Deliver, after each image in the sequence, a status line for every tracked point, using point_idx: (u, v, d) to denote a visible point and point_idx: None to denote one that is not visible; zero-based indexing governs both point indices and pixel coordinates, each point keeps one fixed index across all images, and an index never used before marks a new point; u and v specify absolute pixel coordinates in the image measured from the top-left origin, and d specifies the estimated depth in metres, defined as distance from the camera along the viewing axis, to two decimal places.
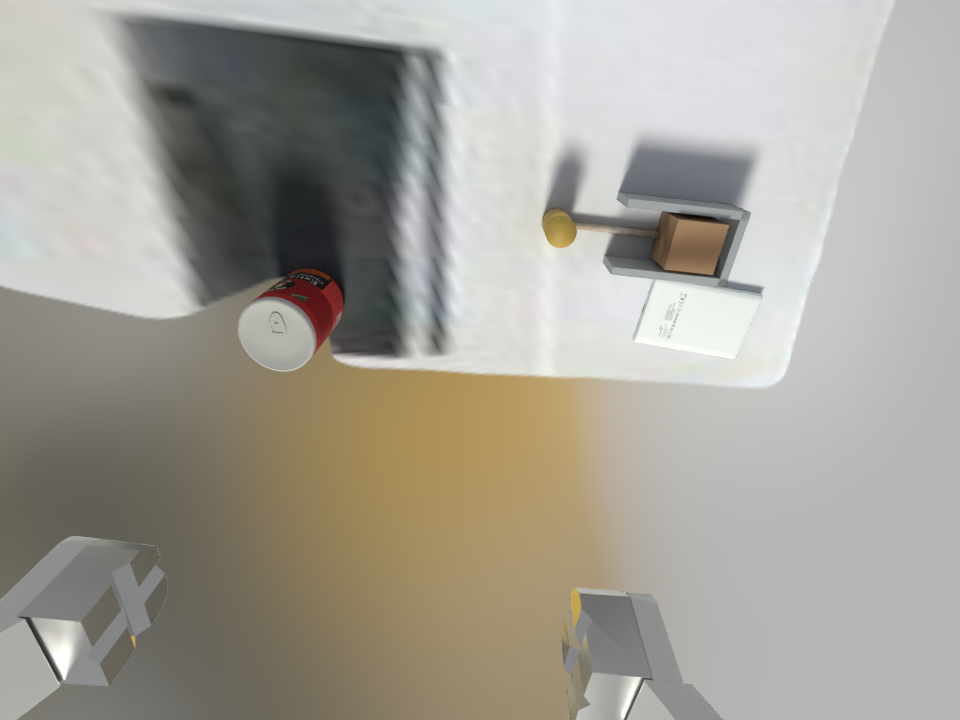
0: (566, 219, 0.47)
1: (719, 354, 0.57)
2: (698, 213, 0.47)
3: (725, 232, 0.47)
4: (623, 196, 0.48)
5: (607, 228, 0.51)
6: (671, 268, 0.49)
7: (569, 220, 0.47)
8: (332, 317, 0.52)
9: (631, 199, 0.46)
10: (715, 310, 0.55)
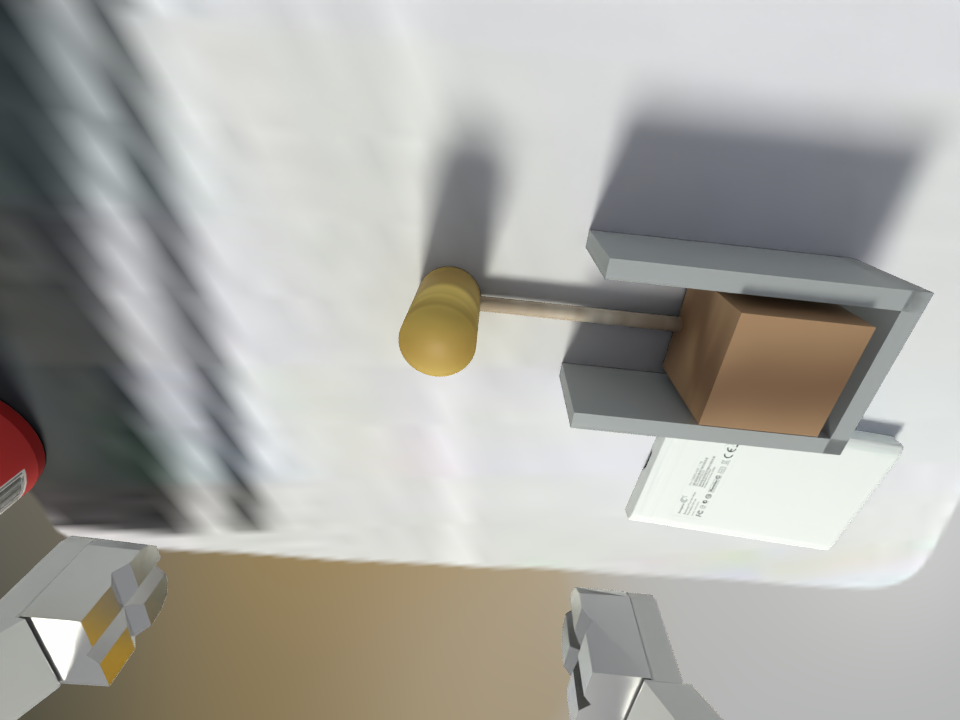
0: (446, 312, 0.18)
1: (799, 544, 0.29)
2: (792, 295, 0.18)
3: (863, 344, 0.18)
4: (598, 245, 0.19)
5: (564, 312, 0.22)
6: (716, 422, 0.20)
7: (454, 314, 0.18)
8: None
9: (616, 259, 0.17)
10: (799, 471, 0.26)
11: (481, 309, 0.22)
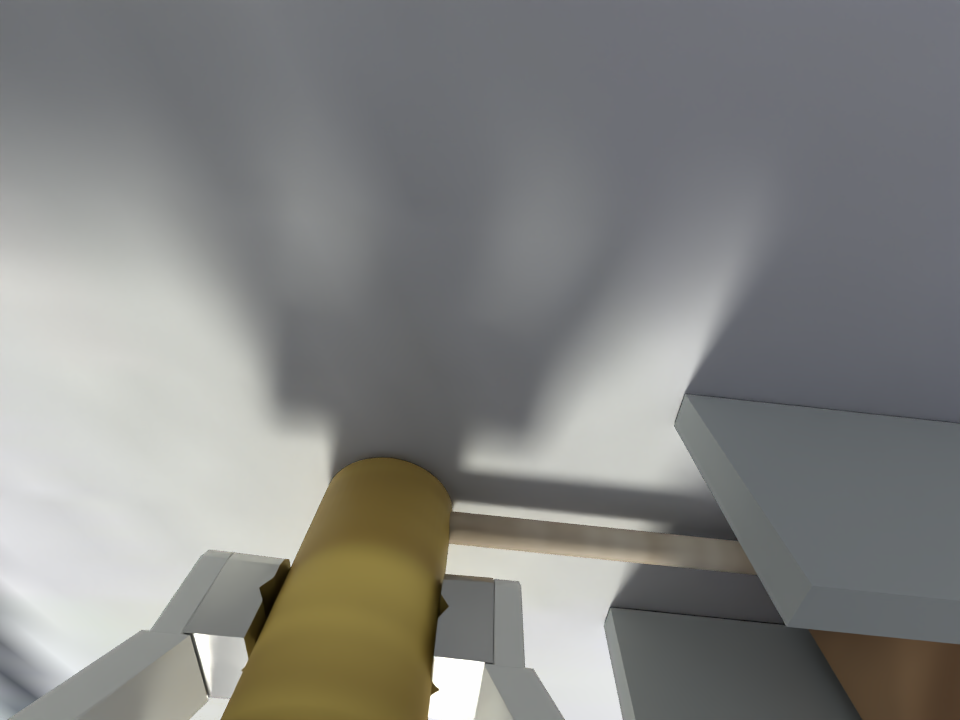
0: (331, 715, 0.06)
1: None
2: None
3: None
4: (731, 472, 0.08)
5: (624, 553, 0.11)
6: None
7: (356, 717, 0.06)
8: None
9: (827, 584, 0.06)
10: None
11: (452, 543, 0.11)
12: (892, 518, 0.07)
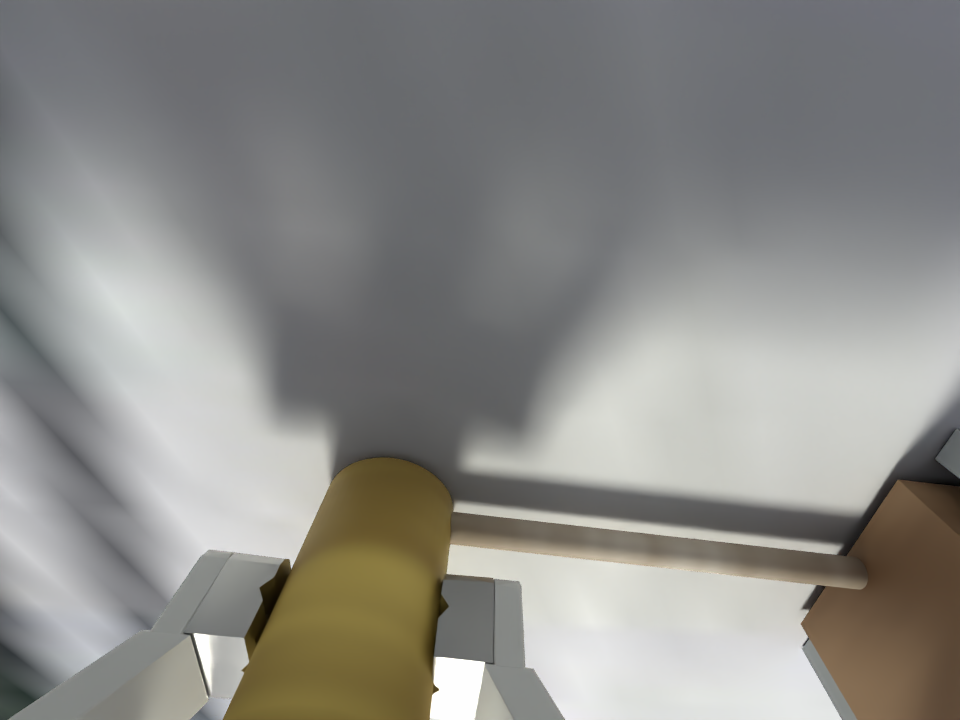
0: (335, 716, 0.06)
1: None
2: None
3: None
4: None
5: (625, 554, 0.11)
6: None
7: (360, 717, 0.06)
8: None
9: None
10: None
11: None
12: None
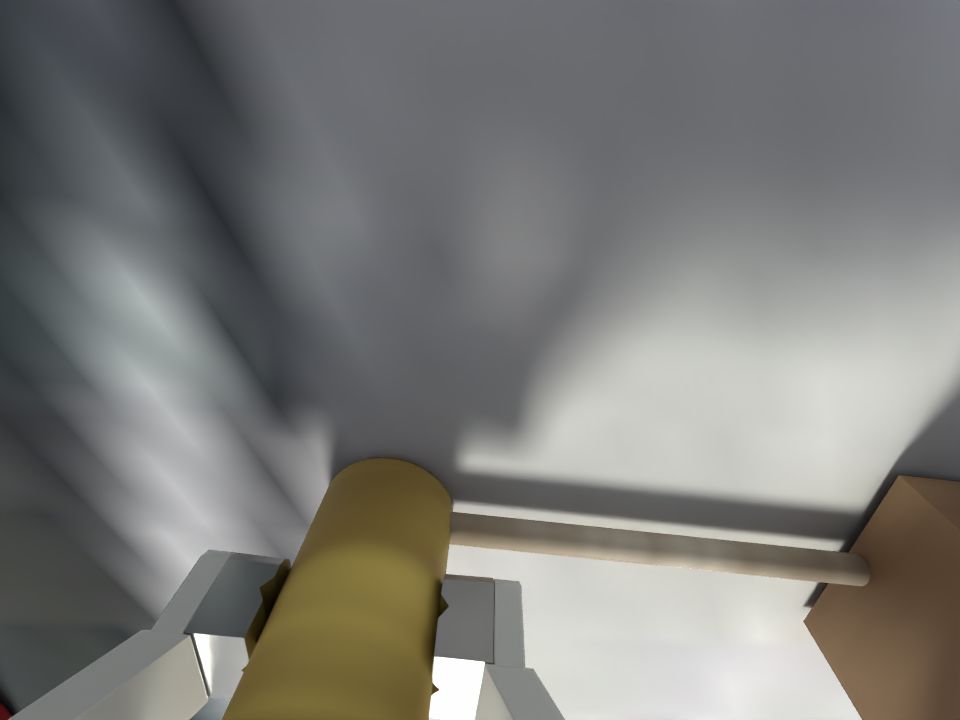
0: (332, 717, 0.06)
1: None
2: None
3: None
4: None
5: (625, 553, 0.11)
6: None
7: (357, 718, 0.06)
8: None
9: None
10: None
11: (453, 544, 0.11)
12: None
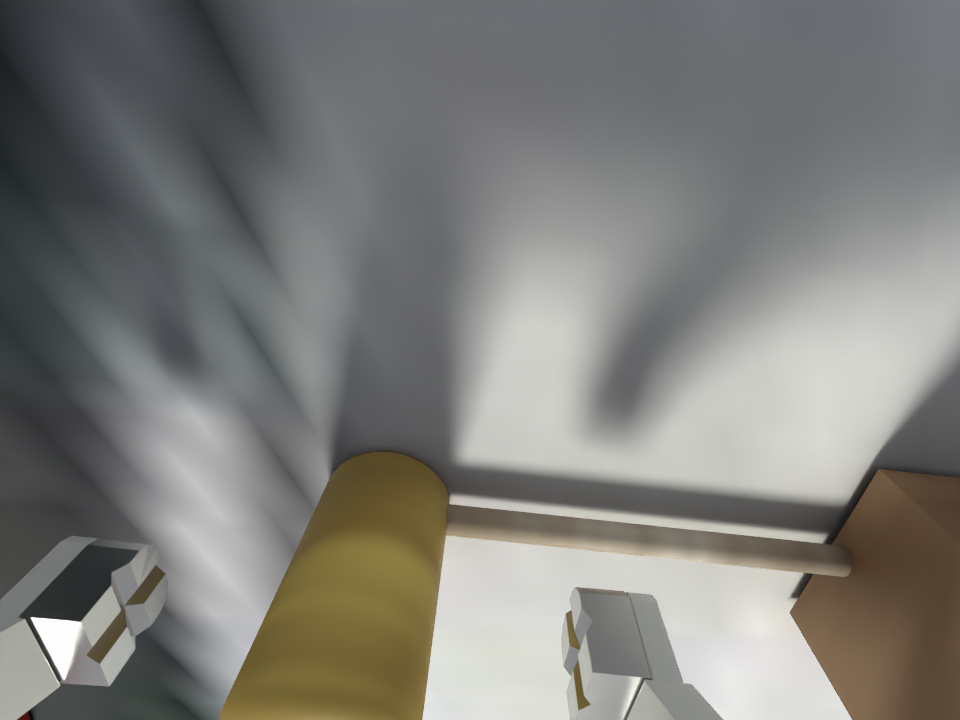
0: (334, 690, 0.07)
1: None
2: None
3: None
4: None
5: (616, 544, 0.11)
6: None
7: (357, 692, 0.07)
8: None
9: None
10: None
11: (449, 535, 0.11)
12: None
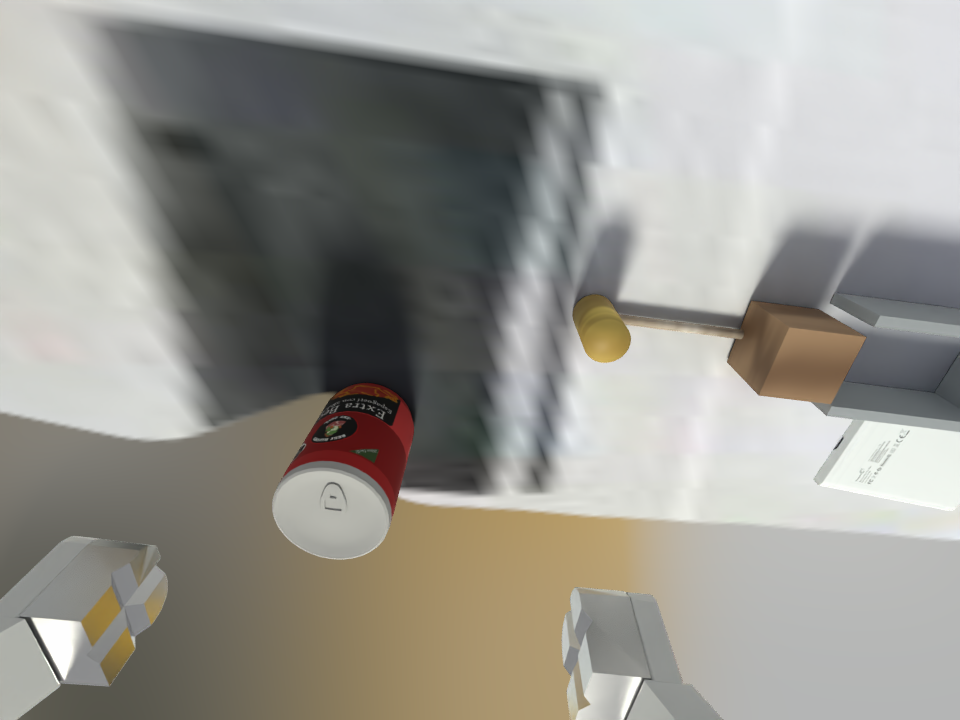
0: (616, 323, 0.30)
1: (933, 505, 0.41)
2: None
3: (858, 347, 0.30)
4: (855, 305, 0.32)
5: (669, 325, 0.35)
6: (769, 394, 0.32)
7: (620, 324, 0.30)
8: (405, 464, 0.36)
9: (882, 316, 0.30)
10: (944, 452, 0.39)
11: None
12: (894, 311, 0.31)
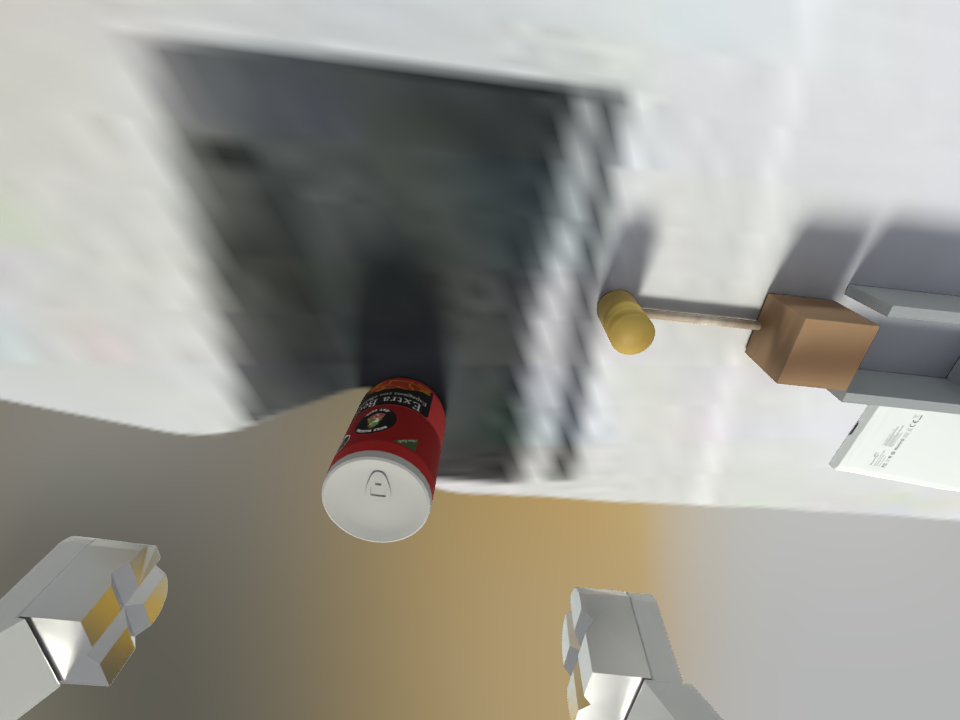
0: (641, 317, 0.32)
1: (946, 487, 0.43)
2: None
3: (872, 336, 0.32)
4: (869, 296, 0.34)
5: (689, 318, 0.36)
6: (787, 382, 0.34)
7: (645, 318, 0.32)
8: (440, 453, 0.38)
9: (895, 306, 0.32)
10: (956, 436, 0.40)
11: None
12: (907, 301, 0.33)
